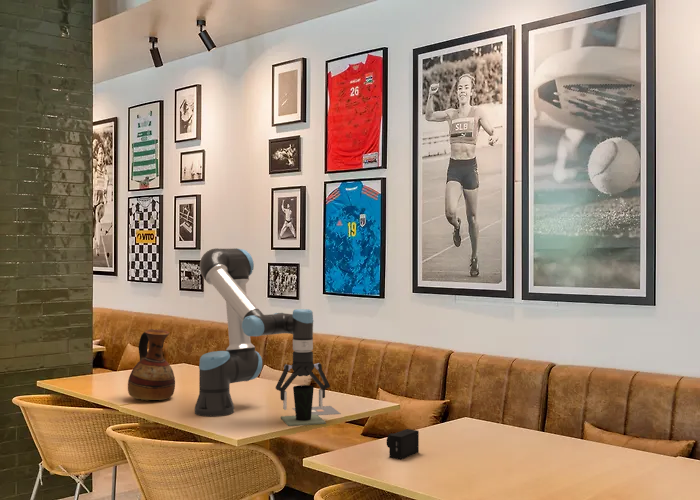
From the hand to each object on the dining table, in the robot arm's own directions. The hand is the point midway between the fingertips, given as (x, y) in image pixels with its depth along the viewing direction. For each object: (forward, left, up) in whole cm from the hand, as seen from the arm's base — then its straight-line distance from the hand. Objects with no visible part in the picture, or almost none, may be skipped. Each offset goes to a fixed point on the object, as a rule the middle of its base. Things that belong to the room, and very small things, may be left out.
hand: (302, 408), depth 279 cm
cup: (0, 0, -4) cm, 4 cm away
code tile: (+9, +16, -5) cm, 19 cm away
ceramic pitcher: (-53, +59, -5) cm, 79 cm away
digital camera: (+19, -55, -5) cm, 58 cm away
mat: (0, 0, -5) cm, 5 cm away
